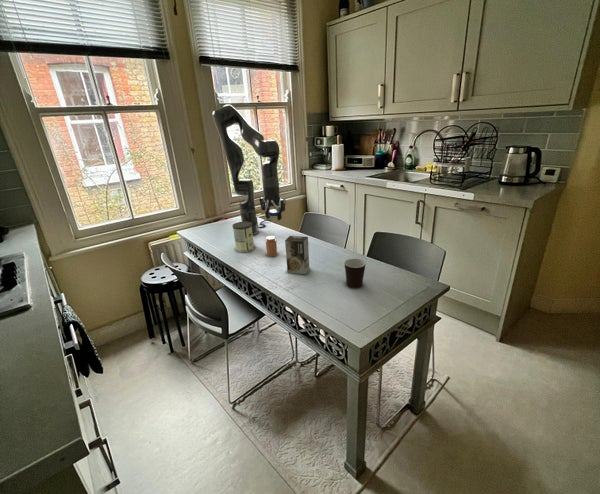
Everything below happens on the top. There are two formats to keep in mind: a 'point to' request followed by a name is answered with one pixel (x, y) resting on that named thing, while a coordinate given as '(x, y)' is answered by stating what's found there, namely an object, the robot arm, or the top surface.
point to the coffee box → (297, 254)
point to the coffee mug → (354, 272)
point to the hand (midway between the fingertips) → (273, 219)
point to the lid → (272, 212)
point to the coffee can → (243, 236)
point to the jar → (271, 246)
